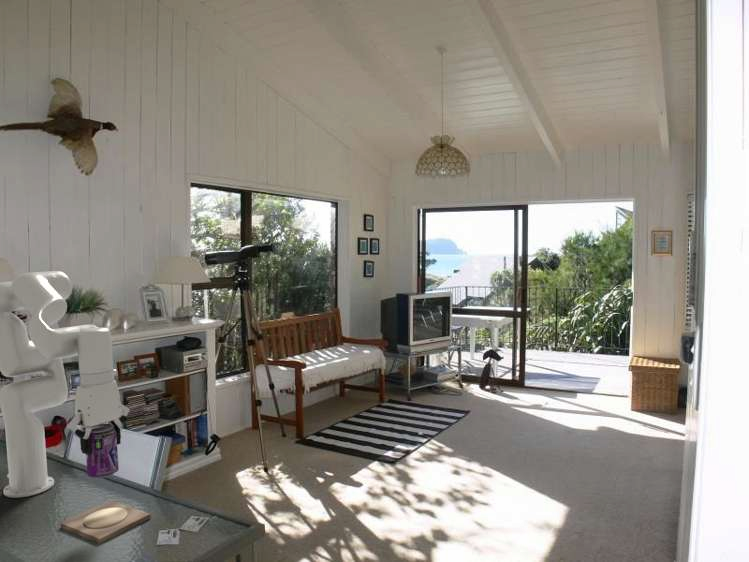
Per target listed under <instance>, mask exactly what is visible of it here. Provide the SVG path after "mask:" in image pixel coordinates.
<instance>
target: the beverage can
mask: <svg viewBox="0 0 749 562" xmlns="http://www.w3.org/2000/svg"><path fill="white" fill-rule="evenodd" d="M89 438H91V443H92V454H90V455H88V454H85V457H86V472H87V473H86V474H87V476H88V477H90V478H94V479H104V478H108V477H111V476H113V475H115V473H117V472H119V455H118V454H119V453H118V452H119V451H118V444H117V434H116V431H115V429H114V425H113V424H110V423H104V424H101V425H97V426H94V427H92V430H91V432H90V435H89Z"/></svg>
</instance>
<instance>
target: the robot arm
mask: <svg viewBox="0 0 749 562" xmlns="http://www.w3.org/2000/svg"><path fill="white" fill-rule="evenodd" d="M72 289H73V285H72V282H71V279H70V278H69V277H68V275H67V274H65V273H64V272H63V271H60V270H59V271H58V270H50V271H35V272H33V271H32V272H25V273H22V274H19V275H17V276H16V277H15V278H14V279H13V280H11V281H3V282H2V281H1V282H0V373H1V374H2V375H3V376H4V377H7V378H15V377H21V376H27V375H30V374H37V373H41V375H42V376H37V377H34V378H33V377H31V378H27V379H22V380H17V381H14V382H11V383H9V384H5V386H3V387H2V388H1V389H0V411H1V413H2V419H3V424H4V431H5V444H6V455H7V468H8V469H7V470H8V472H7V475H6V477H7V478H8V482H9V484H8V485H6V486H5V487H4V488H3V495H4V497H7V498H12V499H13V498H17V499H18V498H25V497H30V496H31V497H32V496H35V495H38V494H41V493H44V492H45V491H47V490H49V489H51V488H53V486H54V484H55V479H54V478H53V477H52V476H49V475H48V463H47V461H48V460H47V451H46V437H45V426H44V424H43V422H42V421H41V419H40V418H39V417H37V416H36V415H35V414H34V413H36V412H39V411H42V410H46V409H50V408H54V407H58V406H61V405H63V404H64V403H65V402H66V401H67V399H68V395H69V389H68V381H67V378H66V373H65V368H64V363H63V359H66V358H72V357H75V356H76V357H77V356H78V369H79V382H80V385H78V386H76V391H75V397H74V416H73V418H72V419H71V421H69V423H68V424H67V425H66V428H67V429H68V430H69V431H70V432H72V434H73V435H75V436H76V437H77V438H79V441H80V444H79V445H80V451H81V453H82V454H85V455H86V454H88V455H90V454H92V443H91V438H89V435H90V432H91V430H92V427H94V426H97V425H101V424H108V423H109V424H113V425H114V429H115V431H116V434H117V445H120V444H121V443H122V442H121V438H122V435H121V434H122V432H121V428H122V427H123V424H124V422H125V421H126V420H127V419H126V418H127V416H128V414H129V413H130V411H131V410H130V408H129V407H127V406H126V405H124V404H122V402H121V401H122V400H121V395H120V390H119V386H118V383H117V381H116V380H115V375H117V374H118V370H117V369H114V362H113V361H114V359H113V345H112V333H111V331H110V329H109V328H107V327H98V326H96V325H95V324H80V325H73V326H66V327H65V326H64V327H58V328H50V326H52V325H54V324H56V323H58V322H59V321H60V320H61V319H62V318H63V317H64V315H65V314H66V313H67V309H68V304H67V301H66V300H67V299H69V297H70V295H72V291H73V290H72ZM17 311H27V312H28V313H29V314H30V315H31V317H30V318H29V319H30V320H29V322H28V330H27V325H26V324H25V322H24V321H22V319H21V318H19V317H18V316H17V315H16V314H14V313H13V312H17ZM78 426H80V427H79V428H78Z"/></svg>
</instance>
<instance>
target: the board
mask: <svg viewBox="0 0 749 562" xmlns="http://www.w3.org/2000/svg"><path fill="white" fill-rule="evenodd" d="M151 517H152V516H151V513H149V512H146V511H143V510H140V509H137V508H134V507H132V506H129V505H126V504H122V503H119V502H117V501H113V500H109V501H107V502H105V503H103V504H100V505H98V506H95V507H93V508H91V509H89V510H87V511H84V512H82V513H80V514H78V515H76V516H73V517H71V518H69V519H66V520H64V521H62V522H60V528H61V529H64V530H66V531H68V532H71V533H73V534H75V535H78V536H80V537H82V538H85V539H88V540H90V541H92V542H94V543H97V544H100V545H101V544H102V543H104V542H106V541H108V540H111V539H112V538H115V537H117V536H119V535H120V534H122V533H124V532H126V531H129V530H131V529H132V528H135V527H136V526H138V525H141V524H142V523H144V522H147V521H148V520H150V519H151Z"/></svg>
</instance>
